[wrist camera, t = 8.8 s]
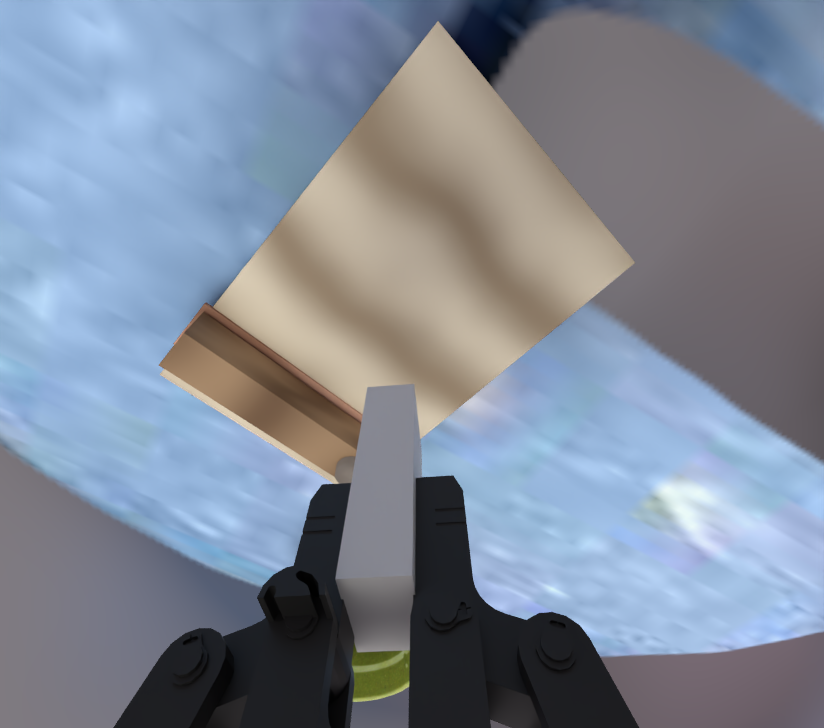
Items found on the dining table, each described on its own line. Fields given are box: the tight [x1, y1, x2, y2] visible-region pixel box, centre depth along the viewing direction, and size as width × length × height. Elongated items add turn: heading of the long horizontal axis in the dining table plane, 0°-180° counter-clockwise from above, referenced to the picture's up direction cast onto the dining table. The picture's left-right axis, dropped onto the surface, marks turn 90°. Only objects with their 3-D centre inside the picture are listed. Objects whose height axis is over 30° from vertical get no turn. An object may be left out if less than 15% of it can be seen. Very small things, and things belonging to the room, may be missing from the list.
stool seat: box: [160, 22, 635, 484], centre depth 25 cm, size 22×14×3 cm, turn 136°
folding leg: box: [159, 312, 361, 484], centre depth 24 cm, size 12×2×3 cm, turn 46°
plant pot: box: [352, 643, 410, 702], centre depth 34 cm, size 9×9×9 cm
